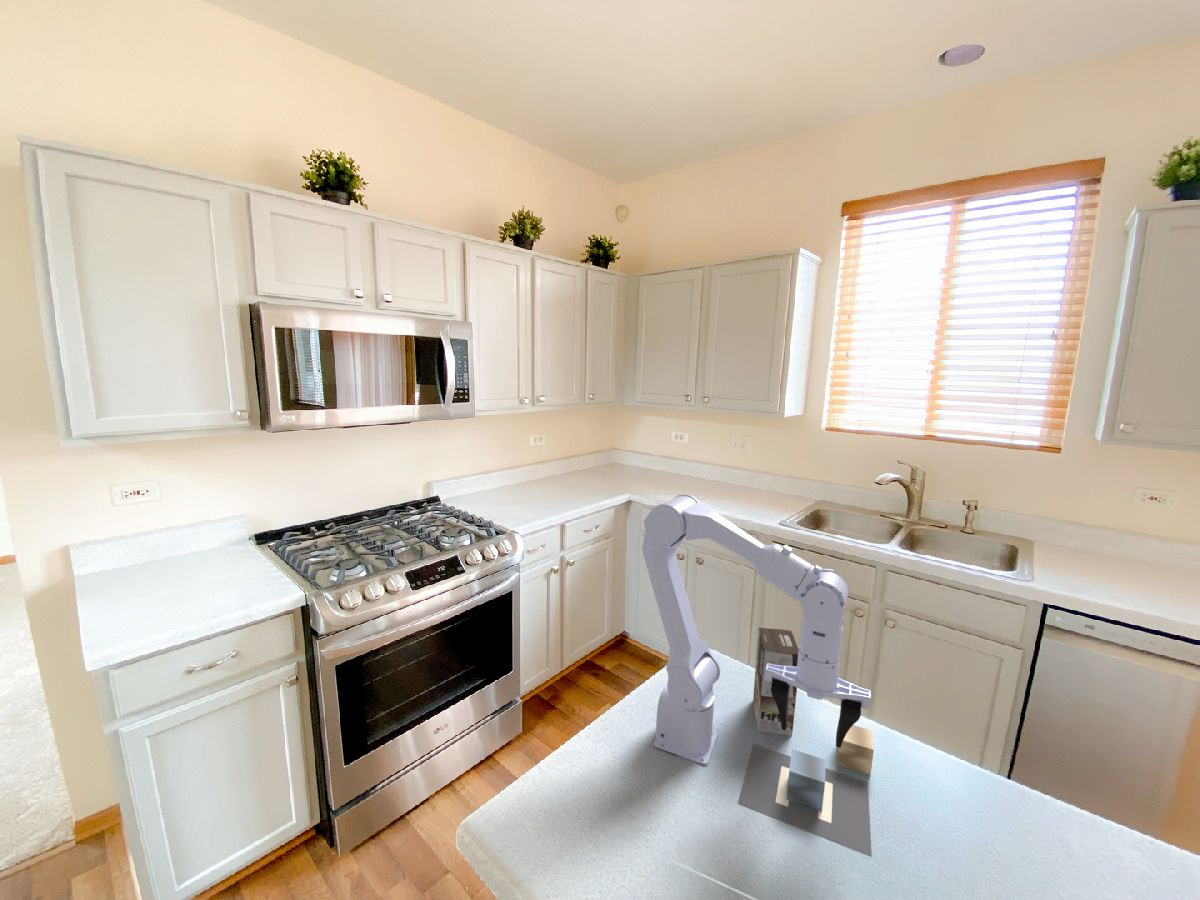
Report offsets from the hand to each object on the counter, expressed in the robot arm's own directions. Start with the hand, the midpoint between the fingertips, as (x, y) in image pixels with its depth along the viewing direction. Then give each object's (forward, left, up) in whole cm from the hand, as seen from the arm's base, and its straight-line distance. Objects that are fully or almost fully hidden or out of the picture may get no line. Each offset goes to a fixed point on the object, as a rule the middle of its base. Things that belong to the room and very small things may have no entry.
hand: (810, 734), depth 76 cm
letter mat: (0, 0, -10) cm, 10 cm away
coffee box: (-7, +16, -11) cm, 20 cm away
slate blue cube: (0, 0, -10) cm, 10 cm away
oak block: (+7, +11, -10) cm, 17 cm away
